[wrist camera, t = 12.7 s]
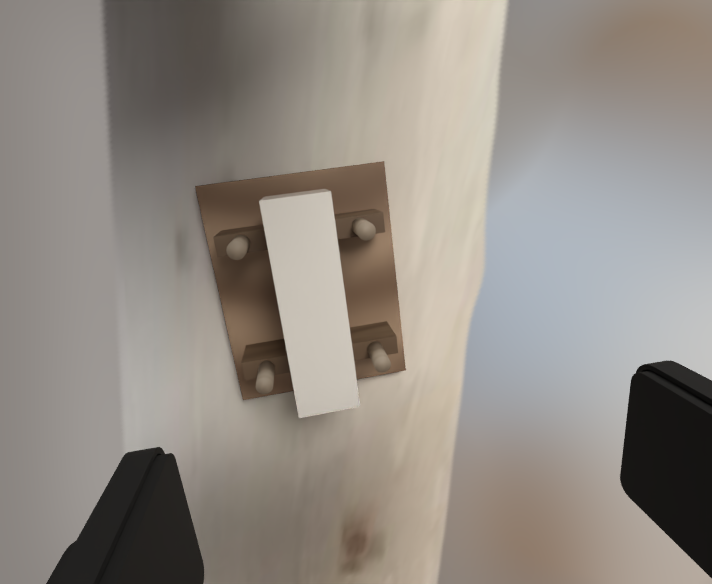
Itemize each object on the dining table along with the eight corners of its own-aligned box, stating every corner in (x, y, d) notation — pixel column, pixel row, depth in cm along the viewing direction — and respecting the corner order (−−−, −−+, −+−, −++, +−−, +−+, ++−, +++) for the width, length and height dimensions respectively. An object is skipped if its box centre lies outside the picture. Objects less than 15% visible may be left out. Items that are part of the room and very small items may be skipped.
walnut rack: (198, 185, 28) (171, 189, 21) (380, 161, 29) (405, 158, 23) (244, 391, 32) (233, 446, 26) (401, 363, 33) (427, 408, 27)
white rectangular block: (264, 196, 24) (258, 200, 21) (325, 188, 25) (331, 191, 21) (297, 384, 28) (298, 418, 24) (351, 375, 28) (360, 406, 24)
